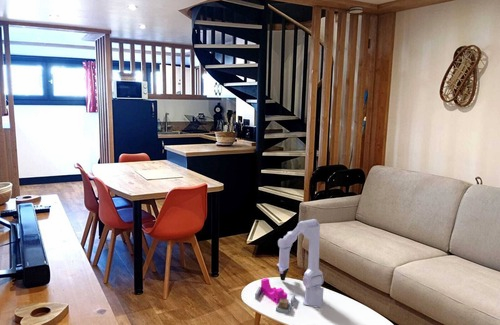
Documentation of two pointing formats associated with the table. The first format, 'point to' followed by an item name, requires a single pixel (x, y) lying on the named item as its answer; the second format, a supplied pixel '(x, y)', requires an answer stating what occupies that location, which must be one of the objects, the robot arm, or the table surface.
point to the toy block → (272, 291)
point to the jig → (278, 303)
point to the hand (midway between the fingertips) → (282, 280)
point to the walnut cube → (283, 303)
